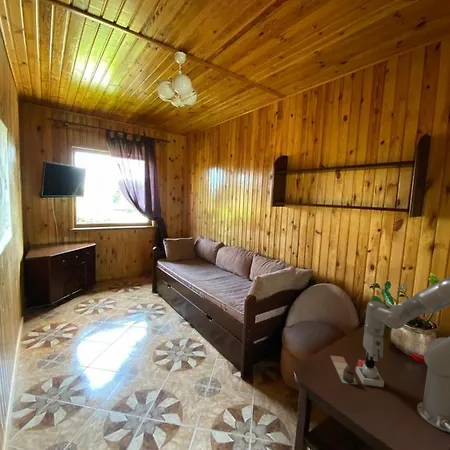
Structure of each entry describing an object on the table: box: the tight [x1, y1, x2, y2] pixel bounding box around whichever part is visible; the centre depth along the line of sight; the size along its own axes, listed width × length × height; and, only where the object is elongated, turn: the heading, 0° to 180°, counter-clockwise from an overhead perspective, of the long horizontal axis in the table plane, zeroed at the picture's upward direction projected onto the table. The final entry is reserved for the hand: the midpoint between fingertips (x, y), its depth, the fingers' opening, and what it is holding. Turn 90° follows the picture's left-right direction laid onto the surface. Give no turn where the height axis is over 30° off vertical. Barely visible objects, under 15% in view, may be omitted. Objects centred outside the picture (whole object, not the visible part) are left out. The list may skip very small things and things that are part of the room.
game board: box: [330, 355, 359, 386], centre depth 122 cm, size 20×7×1 cm, turn 172°
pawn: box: [342, 365, 355, 384], centre depth 114 cm, size 4×4×7 cm
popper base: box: [355, 359, 385, 388], centre depth 118 cm, size 15×9×4 cm, turn 172°
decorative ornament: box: [411, 353, 426, 365], centre depth 133 cm, size 10×10×3 cm
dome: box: [362, 364, 379, 380], centre depth 115 cm, size 6×6×4 cm
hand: (369, 366), depth 115 cm, fingers closed
